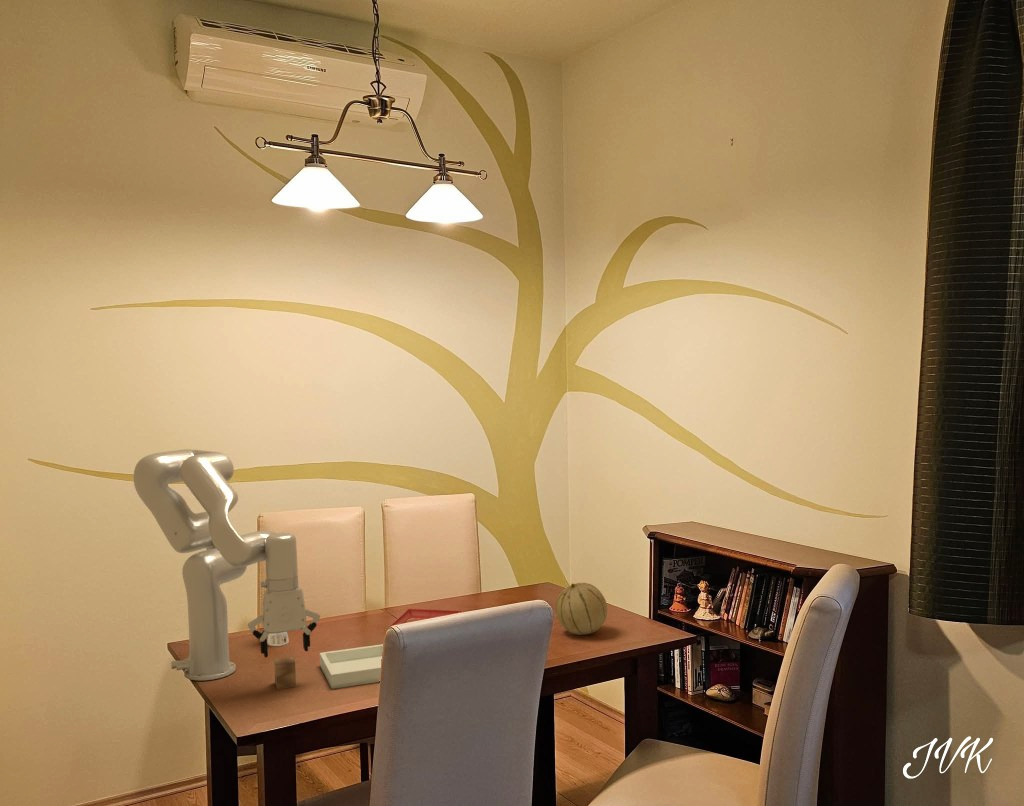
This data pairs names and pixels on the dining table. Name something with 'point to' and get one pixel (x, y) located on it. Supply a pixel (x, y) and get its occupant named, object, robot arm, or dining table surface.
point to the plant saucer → (421, 614)
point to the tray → (352, 666)
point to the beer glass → (277, 639)
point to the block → (285, 672)
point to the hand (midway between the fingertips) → (285, 652)
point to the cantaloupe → (581, 608)
